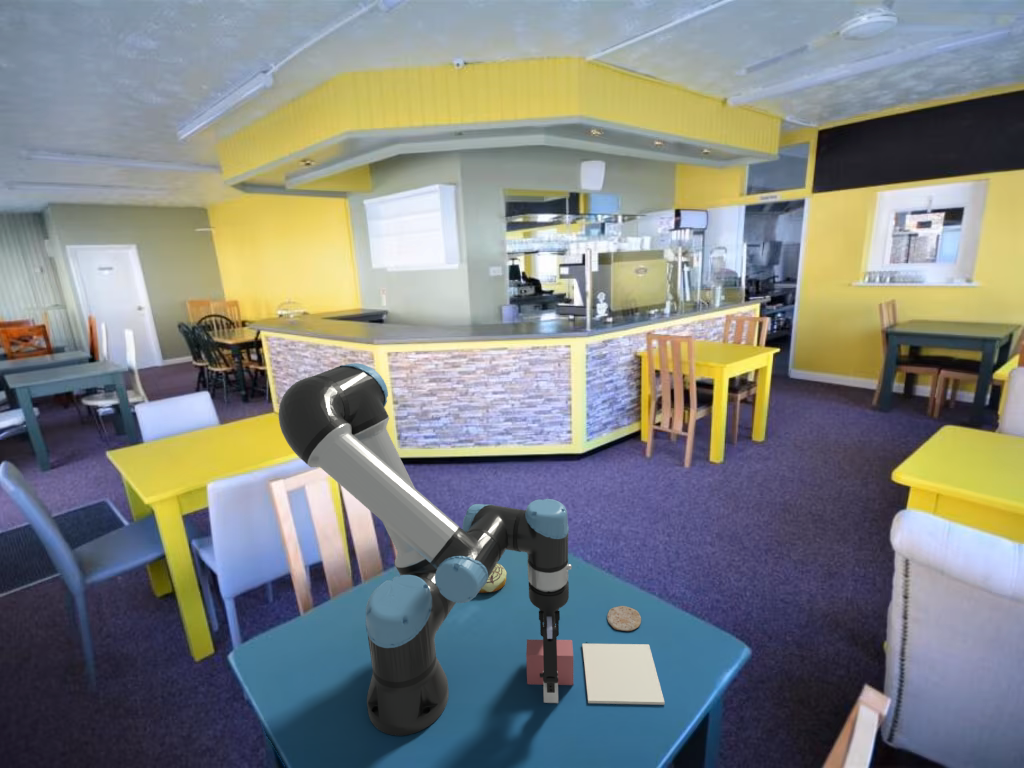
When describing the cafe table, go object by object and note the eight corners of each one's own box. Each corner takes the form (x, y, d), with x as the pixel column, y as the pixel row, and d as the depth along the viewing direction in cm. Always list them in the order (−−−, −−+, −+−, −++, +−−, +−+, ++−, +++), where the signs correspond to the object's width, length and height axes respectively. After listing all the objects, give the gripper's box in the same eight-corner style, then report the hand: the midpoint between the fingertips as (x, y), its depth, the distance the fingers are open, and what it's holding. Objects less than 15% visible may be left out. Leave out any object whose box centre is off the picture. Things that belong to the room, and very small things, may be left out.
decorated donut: (495, 601, 122) (494, 587, 121) (457, 590, 127) (456, 577, 126) (513, 575, 132) (512, 563, 131) (476, 566, 136) (476, 554, 135)
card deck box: (527, 684, 99) (526, 655, 97) (527, 668, 102) (526, 639, 101) (573, 685, 98) (573, 655, 96) (572, 668, 102) (572, 640, 100)
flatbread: (613, 604, 120) (613, 600, 119) (645, 614, 116) (645, 610, 116) (601, 626, 113) (601, 622, 113) (635, 638, 109) (635, 634, 109)
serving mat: (588, 703, 94) (588, 700, 94) (582, 645, 107) (582, 643, 107) (664, 704, 93) (664, 702, 93) (648, 646, 106) (649, 644, 106)
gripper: (572, 625, 83) (573, 730, 89) (565, 544, 105) (566, 632, 111) (526, 625, 83) (530, 729, 89) (529, 544, 106) (532, 631, 112)
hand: (550, 675), depth 100 cm, fingers open, 11 cm apart
